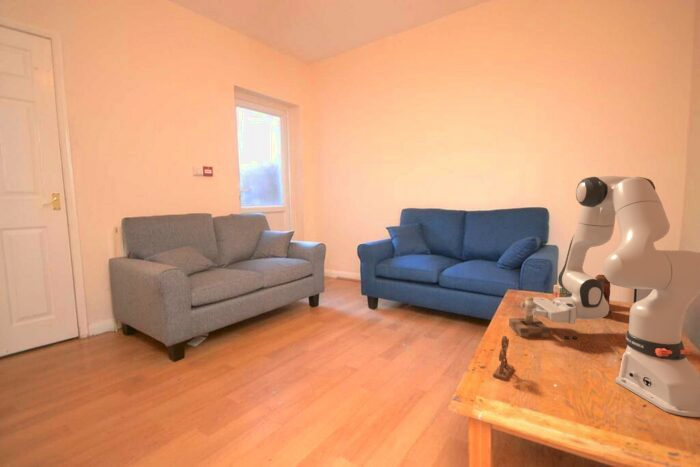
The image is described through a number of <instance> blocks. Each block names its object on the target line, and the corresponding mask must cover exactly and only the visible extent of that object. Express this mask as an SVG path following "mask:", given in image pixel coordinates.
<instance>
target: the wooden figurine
mask: <svg viewBox="0 0 700 467" xmlns="http://www.w3.org/2000/svg"><path fill="white" fill-rule="evenodd" d="M594 278H595V279H597V280H599V281H600V282H601V283H602V284H603V287H604V293H603V294H604V298H605V300H606V301H607V302H608V304H609V305H610V298H611V283H610V282H609V281H608V280H607V279H606V277H605V275H604V274H598V275H596V276H595V277H594ZM608 316H609V313H608V314H607V315H606V316H605V317H604V318H606V317H608Z"/></svg>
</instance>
